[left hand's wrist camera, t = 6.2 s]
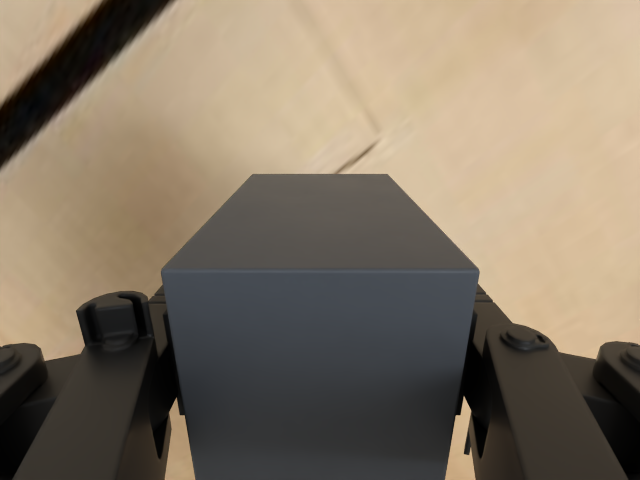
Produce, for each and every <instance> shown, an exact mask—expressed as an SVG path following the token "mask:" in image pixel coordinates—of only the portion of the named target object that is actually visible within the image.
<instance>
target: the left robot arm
mask: <svg viewBox="0 0 640 480" xmlns="http://www.w3.org/2000/svg"><path fill="white" fill-rule="evenodd" d="M76 313H77V316H78V320H79V324H80V328H81V331H82V335H83V339H84V343H85V347H84V349H83V351H82V353H81V354H78V355H74V356H69V357H64V358H59V359H53V360H48V361H44V358H43V354H42V351H41V348H39V347H38V346H37V345H35V344H28V343H20V344H9V345H4V346H3V347H1V346H0V480H164V479H165V472H166V465H167V458H168V451H169V443H170V436H171V421H170V416H169V411H170V409H171V407H172V405H173V403H174V401H175V399H176V397H177V401H178V407H179V413H180V415H185V413H184V407H183V401H182V395H181V389H180V383H179V377H178V371H177V365H176V359H175V353H174V347H173V341H172V335H171V330H170V324H169V318H168V312H167V306H166V300H165V294H164V288H163V285H162V286H161V287H160V288H159V290H158V291H157V292H156V293H155V296H152V298H151V299H150V300H149V301H148V298H147V296H146V295H144V294H143V293H140V292H135V291H120V292H114V293H109V294H105V295H102V296H99V297H96V298H94V299H92V300H90V301H88V302H86V303H84V304H83V305H82V306H81V307H80V308H78V309H77V310H76ZM463 397H465V399H466V401H467V403H468V405H469V407H470V409H471V416H470V421H469V427H468V432H467V437H466V443H465V449H464V454H466V455H469V453H470V448H471V450H472V457H473V464H474V471H475V478H476V480H640V345H638V344H635V343H630V342H629V343H627V342H618V341H615V342H607V343H605V344H603V345H602V346H601V347H600V349H599V352H598V356H597V359H591V358H586V357H580V356H575V355H570V354H565V353H561V352H558V350H557V348H556V346H555V345H554V344H553V343H552V341H551V340H550V339H549V338H548V337H546V336H545V335H543V334H542V333H540V332H539V331H537V330H534V329H532V328H529V327H527V326H523V325H518V324H514V323H512V322H511V321H510V320H509V319H508V317H507V316H506V315H505V314H504V313H503V312H502V311H501V309H500V308H499V307H498V306H497V305H496V304H495V303H494V302H493V300H492V299H491V298H490V297H489V296H488V295H486V292H485V291H484V290H483V289H482V288H481V287H480V285H479V284H477V290H476V296H475V302H474V308H473V314H472V320H471V326H470V332H469V338H468V344H467V350H466V356H465V362H464V368H463V374H462V380H461V386H460V392H459V398H458V404H457V410H456V415H460V414H461V409H462V403H463Z"/></svg>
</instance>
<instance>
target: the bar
mask: <svg viewBox="0 0 640 480" xmlns="http://www.w3.org/2000/svg"><path fill="white" fill-rule="evenodd" d="M161 276H162V282H163V288H164V294H165V300H166V306H167V312H168V318H169V324H170V330H171V335H172V341H173V347H174V353H175V359H176V365H177V371H178V377H179V383H180V389H181V395H182V401H183V407H184V413H185V419H186V425H187V431H188V437H189V443H190V449H191V455H192V461H193V467H194V473H195V479H196V480H445V475H446V469H447V464H448V458H449V452H450V446H451V440H452V434H453V428H454V422H455V416H456V410H457V404H458V398H459V392H460V386H461V380H462V374H463V368H464V362H465V356H466V350H467V344H468V338H469V332H470V326H471V320H472V314H473V308H474V302H475V296H476V290H477V284H478V279H479V269H478V268H477V267H476V266H475V265H474V264H473V262H472V261H471V260H470V259H469V258H468V257H467V256H466V255H465V254H464V253H463V252H462V251H461V250H460V249H459V248H458V247H457V246H456V245H455V244H454V243H453V242H452V241H451V240H450V239H449V238H448V236H447V235H446V234H445V233H444V232H443V231H442V230H441V229H440V228H439V227H438V226H437V225H436V224H435V223H434V222H433V221H432V220H431V219H430V218H429V217H428V216H427V215H426V214H425V213H424V212H423V211H422V209H421V208H420V207H419V206H418V205H417V204H416V203H415V202H414V201H413V200H412V199H411V198H410V197H409V196H408V195H407V194H406V193H405V192H404V191H403V190H402V189H401V188H400V187H399V186H398V185H397V184H396V182H395V181H394V180H393V179H392V178H391V177H390V176H389V175H388V174H253V175H251V176H250V177H249V179H248V180H247V181H246V182H245V183H244V184H243V185H242V186H241V187H240V188H239V189H238V190H237V191H236V192H235V193H234V194H233V195H232V196H231V197H230V198H229V199H228V200H227V201H226V202H225V204H224V205H223V206H222V207H221V208H220V209H219V210H218V211H217V212H216V213H215V214H214V215H213V216H212V217H211V218H210V219H209V220H208V221H207V222H206V223H205V224H204V225H203V226H202V228H201V229H200V230H199V231H198V232H197V233H196V234H195V235H194V236H193V237H192V238H191V239H190V240H189V241H188V242H187V243H186V244H185V245H184V246H183V247H182V248H181V249H180V250H179V251H178V253H177V254H176V255H175V256H174V257H173V258H172V259H171V260H170V261H169V262H168V263H167V264H166V265H165V266H164V267H163V268H162V270H161Z"/></svg>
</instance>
